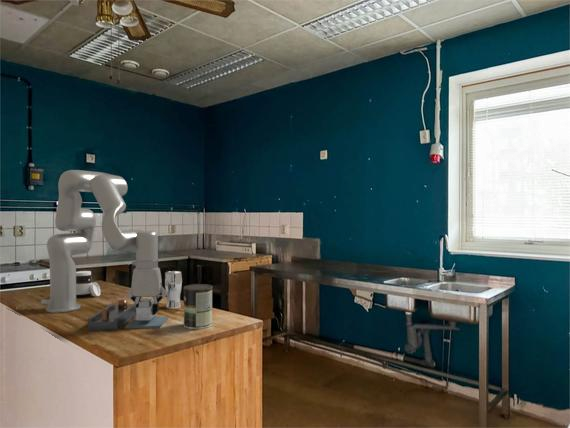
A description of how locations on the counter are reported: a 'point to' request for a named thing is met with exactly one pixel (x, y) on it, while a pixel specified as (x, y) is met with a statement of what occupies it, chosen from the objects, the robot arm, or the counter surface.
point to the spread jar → (86, 285)
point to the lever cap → (145, 310)
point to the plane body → (112, 317)
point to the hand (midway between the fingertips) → (147, 313)
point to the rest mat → (147, 323)
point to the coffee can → (197, 306)
